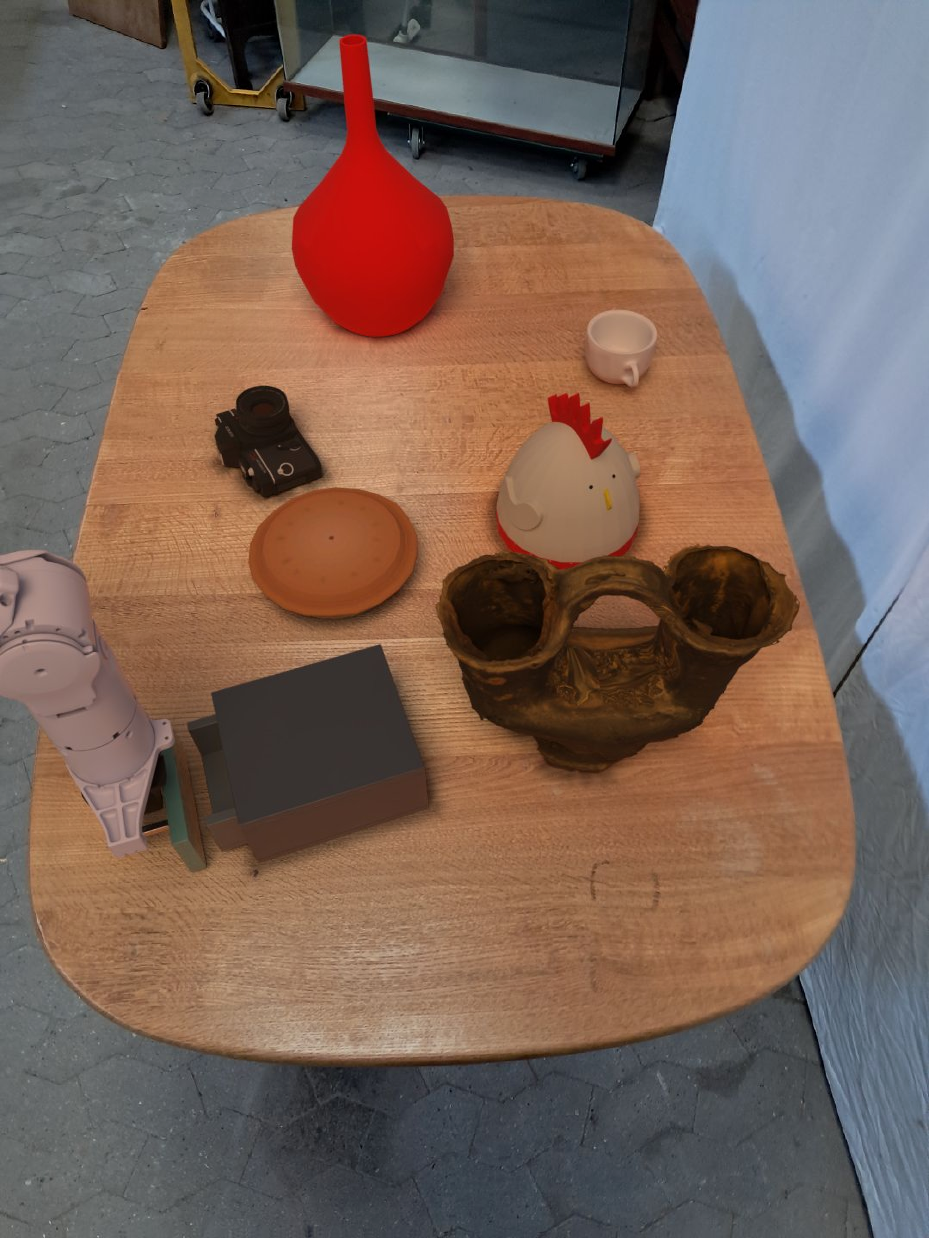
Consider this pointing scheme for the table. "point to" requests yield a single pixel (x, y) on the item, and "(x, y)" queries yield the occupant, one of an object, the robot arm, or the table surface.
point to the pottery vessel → (608, 645)
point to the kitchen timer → (570, 490)
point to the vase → (371, 225)
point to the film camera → (265, 442)
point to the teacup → (620, 346)
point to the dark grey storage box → (319, 753)
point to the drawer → (182, 800)
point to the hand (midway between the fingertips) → (148, 805)
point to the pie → (333, 552)
